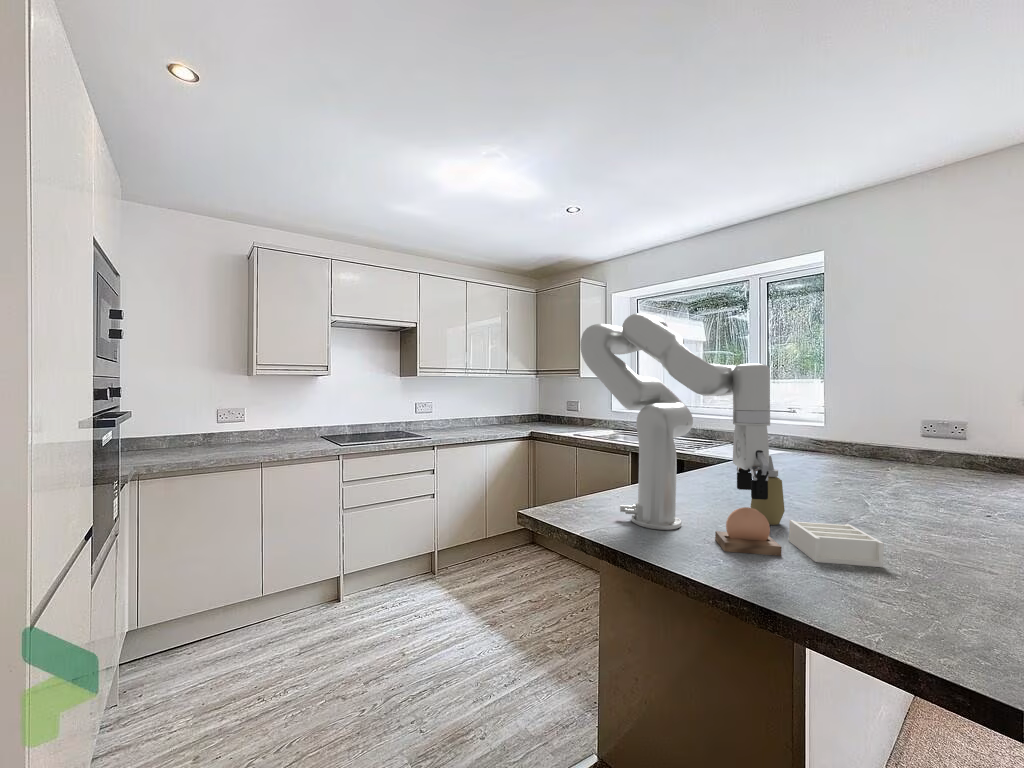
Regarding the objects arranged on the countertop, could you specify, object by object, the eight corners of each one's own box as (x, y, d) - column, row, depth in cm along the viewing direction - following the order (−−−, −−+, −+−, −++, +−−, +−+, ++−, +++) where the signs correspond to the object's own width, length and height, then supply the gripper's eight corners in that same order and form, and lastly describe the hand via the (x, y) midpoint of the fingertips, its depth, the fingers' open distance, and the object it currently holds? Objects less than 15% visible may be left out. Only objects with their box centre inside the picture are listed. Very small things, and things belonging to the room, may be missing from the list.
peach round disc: (769, 550, 104) (770, 510, 104) (726, 546, 105) (728, 507, 105) (767, 548, 105) (768, 508, 105) (725, 544, 106) (726, 505, 106)
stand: (724, 551, 102) (724, 542, 102) (715, 539, 110) (715, 531, 110) (781, 555, 100) (781, 546, 100) (767, 543, 108) (767, 534, 108)
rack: (815, 561, 97) (815, 538, 97) (788, 540, 110) (789, 520, 110) (883, 567, 95) (883, 543, 95) (848, 545, 108) (848, 524, 108)
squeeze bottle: (775, 518, 128) (777, 454, 128) (790, 527, 120) (792, 458, 120) (745, 517, 129) (747, 453, 129) (757, 526, 121) (759, 457, 121)
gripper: (722, 416, 114) (723, 485, 114) (746, 420, 97) (746, 502, 97) (755, 416, 113) (755, 486, 112) (785, 421, 96) (785, 504, 95)
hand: (751, 494), depth 104 cm, fingers open, 9 cm apart
